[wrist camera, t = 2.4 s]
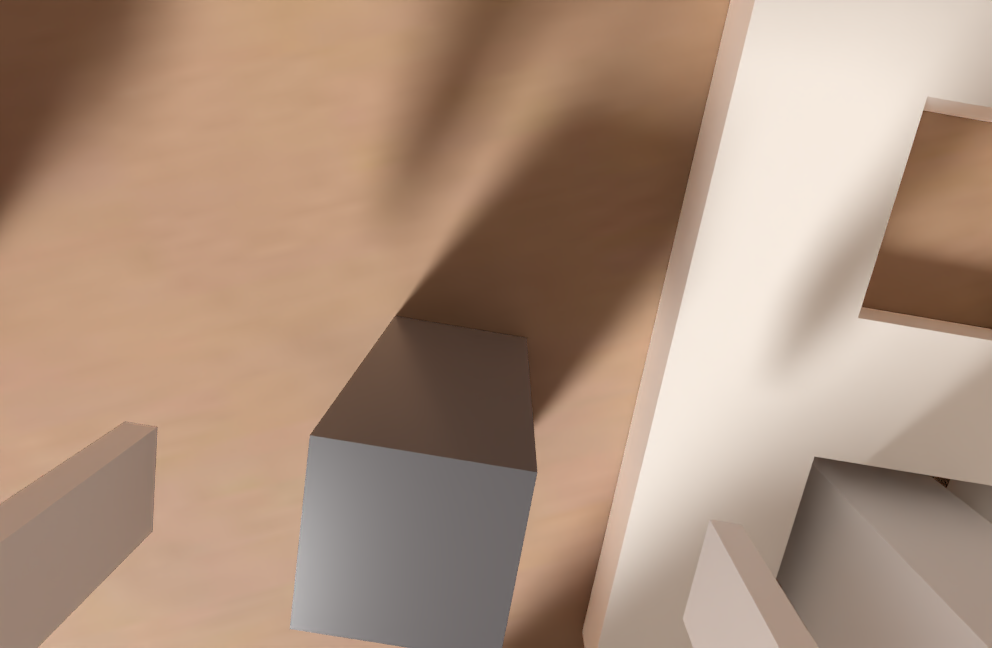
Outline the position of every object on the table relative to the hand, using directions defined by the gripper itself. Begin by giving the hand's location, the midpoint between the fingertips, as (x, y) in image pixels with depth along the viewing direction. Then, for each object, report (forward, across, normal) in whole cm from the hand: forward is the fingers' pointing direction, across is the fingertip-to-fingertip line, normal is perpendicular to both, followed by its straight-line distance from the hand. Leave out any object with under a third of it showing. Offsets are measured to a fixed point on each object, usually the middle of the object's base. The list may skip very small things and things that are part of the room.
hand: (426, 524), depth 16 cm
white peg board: (+8, +15, +4) cm, 17 cm away
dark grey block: (+8, 0, 0) cm, 8 cm away
